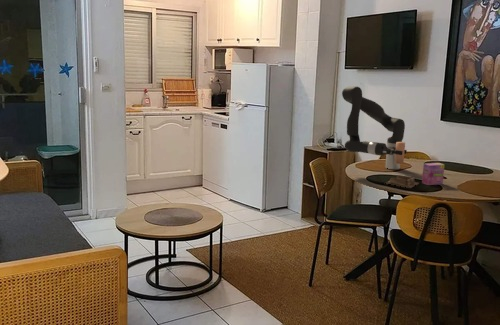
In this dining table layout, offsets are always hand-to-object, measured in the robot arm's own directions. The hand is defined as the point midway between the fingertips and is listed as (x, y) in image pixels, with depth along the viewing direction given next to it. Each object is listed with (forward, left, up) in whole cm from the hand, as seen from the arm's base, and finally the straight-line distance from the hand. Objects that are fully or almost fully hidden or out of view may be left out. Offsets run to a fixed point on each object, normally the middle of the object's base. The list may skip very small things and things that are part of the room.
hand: (404, 152), depth 287 cm
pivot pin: (0, -3, -6) cm, 7 cm away
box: (-10, +14, -18) cm, 25 cm away
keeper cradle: (+3, +1, -18) cm, 18 cm away
